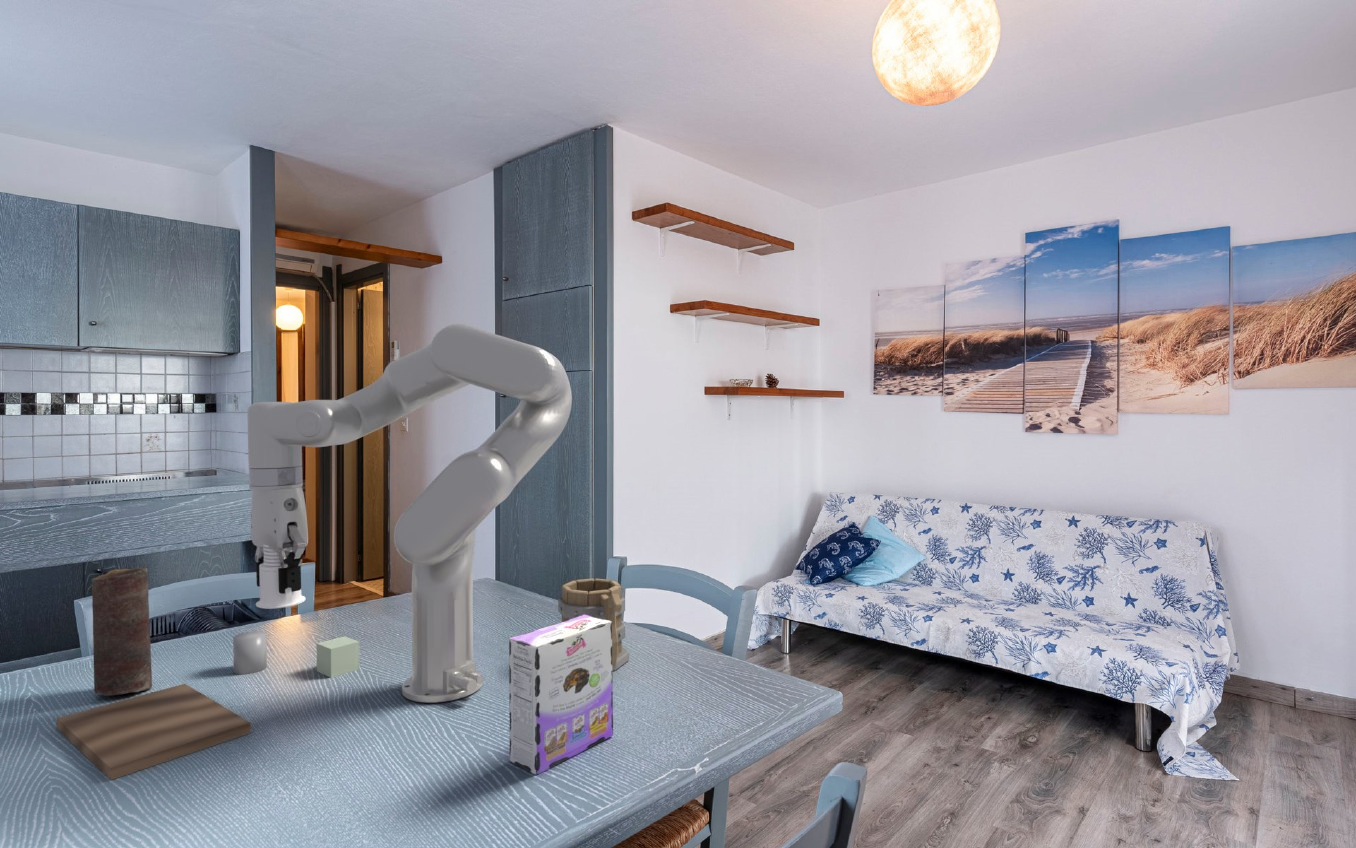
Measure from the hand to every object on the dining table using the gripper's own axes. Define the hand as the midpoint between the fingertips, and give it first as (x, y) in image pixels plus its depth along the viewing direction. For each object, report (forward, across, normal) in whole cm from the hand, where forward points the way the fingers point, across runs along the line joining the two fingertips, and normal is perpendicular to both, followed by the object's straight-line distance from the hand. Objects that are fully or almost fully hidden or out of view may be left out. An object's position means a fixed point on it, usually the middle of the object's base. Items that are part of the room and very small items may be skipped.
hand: (278, 587), depth 115 cm
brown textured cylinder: (+17, +20, +15) cm, 31 cm away
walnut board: (+17, 0, +17) cm, 24 cm away
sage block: (+17, +2, -11) cm, 20 cm away
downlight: (+3, 0, 0) cm, 3 cm away
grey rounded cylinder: (+17, +15, -2) cm, 23 cm away
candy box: (+18, -51, -14) cm, 55 cm away
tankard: (+18, -34, -39) cm, 54 cm away
